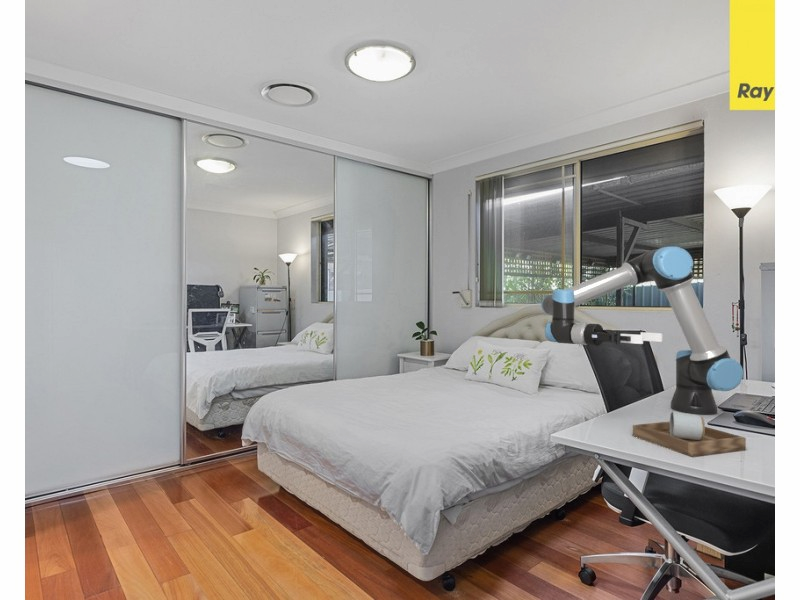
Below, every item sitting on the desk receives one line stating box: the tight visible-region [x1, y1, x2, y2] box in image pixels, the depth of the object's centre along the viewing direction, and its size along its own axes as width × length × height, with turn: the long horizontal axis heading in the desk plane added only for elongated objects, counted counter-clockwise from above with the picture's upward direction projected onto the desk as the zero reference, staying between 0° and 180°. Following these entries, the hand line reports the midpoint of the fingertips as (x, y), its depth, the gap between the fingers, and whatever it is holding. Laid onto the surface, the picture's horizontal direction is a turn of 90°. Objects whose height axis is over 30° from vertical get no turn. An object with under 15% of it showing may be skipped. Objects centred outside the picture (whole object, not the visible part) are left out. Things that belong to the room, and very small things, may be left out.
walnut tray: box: [632, 420, 747, 458], centre depth 136 cm, size 20×20×4 cm
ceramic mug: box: [669, 410, 706, 440], centre depth 139 cm, size 11×8×8 cm
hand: (652, 338), depth 144 cm, fingers open, 13 cm apart
